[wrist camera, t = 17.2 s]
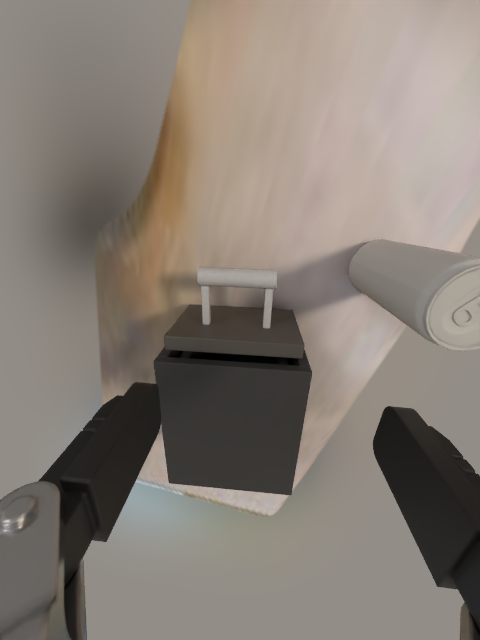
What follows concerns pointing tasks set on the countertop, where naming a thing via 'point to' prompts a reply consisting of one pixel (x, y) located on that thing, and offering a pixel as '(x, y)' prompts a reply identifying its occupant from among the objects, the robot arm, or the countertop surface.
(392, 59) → the countertop surface
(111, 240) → the countertop surface
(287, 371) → the dark grey lidded box
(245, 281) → the handled box lid
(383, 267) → the beverage can
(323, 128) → the countertop surface
